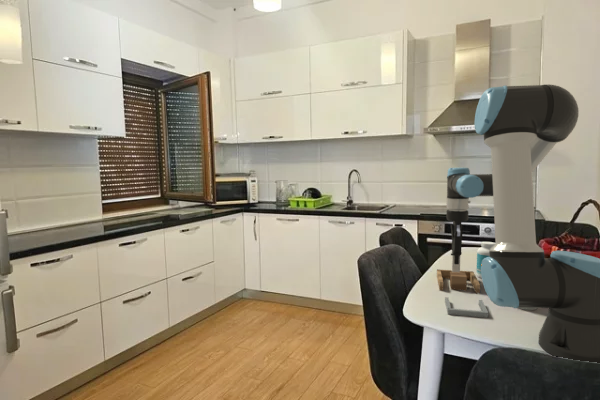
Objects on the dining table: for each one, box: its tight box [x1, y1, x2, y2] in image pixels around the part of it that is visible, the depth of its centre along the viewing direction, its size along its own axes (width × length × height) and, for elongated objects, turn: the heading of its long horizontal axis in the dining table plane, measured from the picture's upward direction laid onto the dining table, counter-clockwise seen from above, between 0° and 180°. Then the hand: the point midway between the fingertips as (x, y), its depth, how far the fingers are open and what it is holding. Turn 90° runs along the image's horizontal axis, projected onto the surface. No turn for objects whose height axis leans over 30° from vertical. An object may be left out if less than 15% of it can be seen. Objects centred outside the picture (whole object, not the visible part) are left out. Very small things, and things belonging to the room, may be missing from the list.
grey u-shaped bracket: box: [444, 296, 489, 319], centre depth 119 cm, size 10×11×2 cm
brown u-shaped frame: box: [436, 269, 481, 294], centre depth 142 cm, size 16×13×3 cm
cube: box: [449, 272, 468, 292], centre depth 139 cm, size 5×5×5 cm
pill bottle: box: [475, 241, 496, 279], centre depth 150 cm, size 8×7×14 cm
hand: (455, 271), depth 146 cm, fingers closed
